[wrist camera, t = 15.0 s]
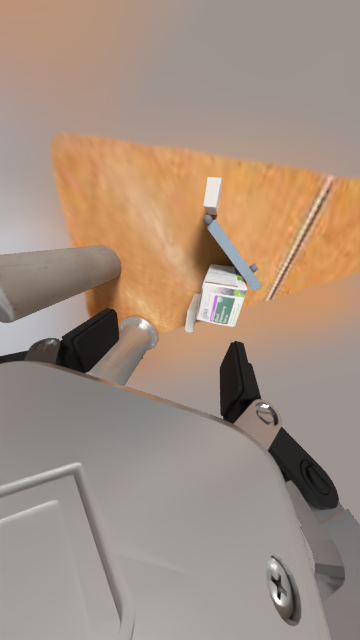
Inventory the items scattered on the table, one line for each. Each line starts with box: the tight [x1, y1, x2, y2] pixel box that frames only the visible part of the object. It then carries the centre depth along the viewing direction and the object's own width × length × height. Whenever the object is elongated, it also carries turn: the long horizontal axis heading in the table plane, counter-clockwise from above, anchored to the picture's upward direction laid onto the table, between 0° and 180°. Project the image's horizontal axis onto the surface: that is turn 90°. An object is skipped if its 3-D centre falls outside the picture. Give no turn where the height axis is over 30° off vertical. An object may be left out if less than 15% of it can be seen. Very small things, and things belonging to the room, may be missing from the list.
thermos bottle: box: [0, 245, 121, 323], centre depth 24 cm, size 8×8×28 cm
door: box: [204, 215, 262, 291], centre depth 23 cm, size 13×2×9 cm, turn 44°
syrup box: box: [196, 264, 247, 327], centre depth 25 cm, size 6×6×14 cm
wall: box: [185, 177, 222, 333], centre depth 26 cm, size 23×2×9 cm, turn 174°
